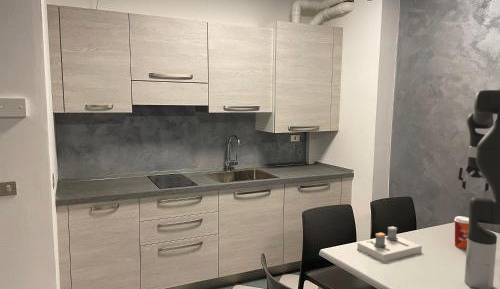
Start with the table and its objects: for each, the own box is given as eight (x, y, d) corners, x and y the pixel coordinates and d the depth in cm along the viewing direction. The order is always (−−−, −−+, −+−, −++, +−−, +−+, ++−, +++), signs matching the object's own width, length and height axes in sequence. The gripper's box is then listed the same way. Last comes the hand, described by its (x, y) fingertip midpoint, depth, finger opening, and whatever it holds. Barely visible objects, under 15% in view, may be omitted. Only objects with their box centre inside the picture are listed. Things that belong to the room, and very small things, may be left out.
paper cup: (461, 250, 172) (463, 221, 170) (448, 244, 179) (450, 216, 178) (474, 248, 174) (477, 220, 172) (461, 242, 181) (463, 215, 180)
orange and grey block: (379, 247, 166) (379, 235, 165) (373, 245, 168) (374, 233, 168) (386, 246, 168) (386, 234, 167) (380, 243, 170) (381, 232, 170)
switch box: (383, 261, 159) (383, 254, 158) (357, 248, 173) (357, 242, 173) (421, 252, 169) (421, 245, 169) (393, 240, 184) (394, 234, 183)
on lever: (391, 240, 175) (391, 229, 174) (385, 238, 177) (386, 227, 177) (397, 239, 177) (398, 227, 176) (392, 237, 179) (393, 225, 179)
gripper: (459, 155, 172) (457, 189, 173) (496, 158, 165) (493, 193, 166) (460, 154, 178) (457, 187, 180) (495, 156, 171) (492, 190, 173)
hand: (475, 190), depth 173 cm, fingers open, 8 cm apart
